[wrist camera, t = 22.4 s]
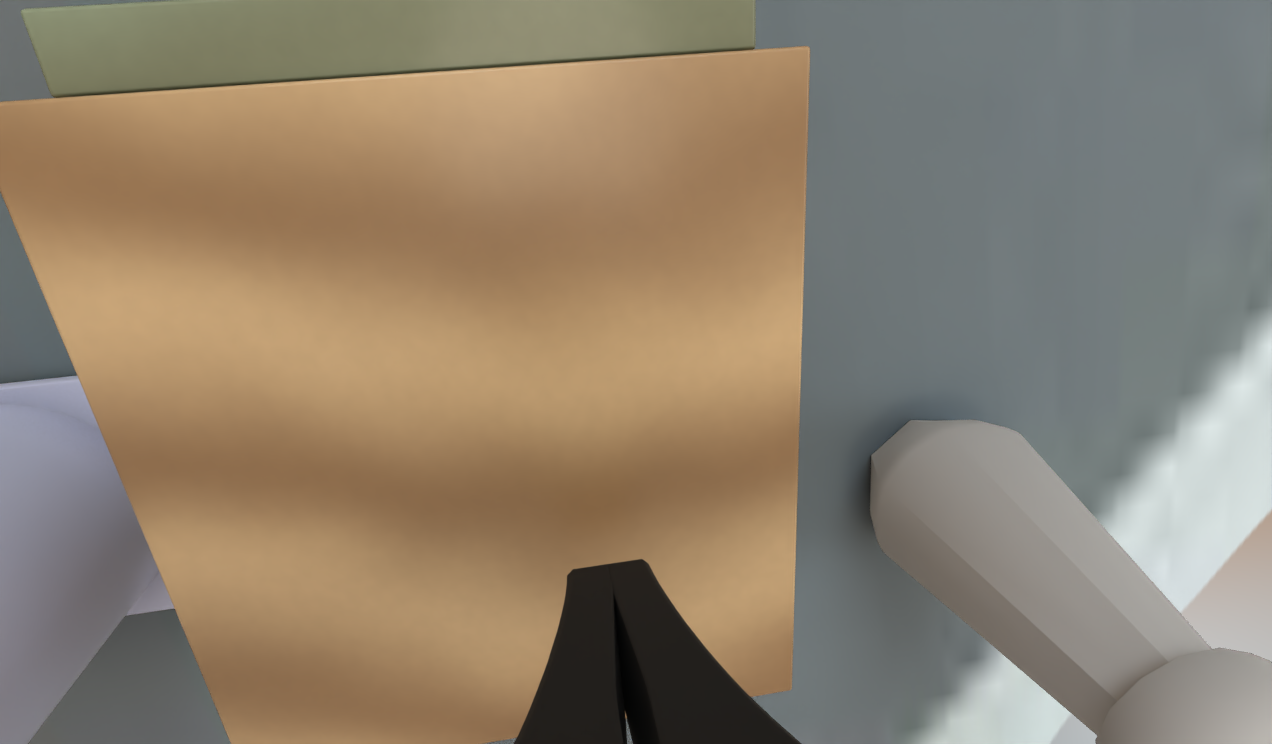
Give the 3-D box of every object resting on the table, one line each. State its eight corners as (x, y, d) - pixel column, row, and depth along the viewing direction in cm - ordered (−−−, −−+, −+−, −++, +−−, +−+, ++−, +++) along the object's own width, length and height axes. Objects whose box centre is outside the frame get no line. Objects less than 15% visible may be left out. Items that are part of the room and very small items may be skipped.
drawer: (140, -231, 14) (-165, -484, 8) (663, -243, 15) (757, -471, 9) (340, 494, 21) (260, 667, 15) (691, 448, 22) (756, 589, 16)
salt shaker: (865, 390, 23) (1220, 706, 11) (1015, 395, 24) (1487, 691, 12) (829, 535, 25) (1097, 929, 14) (970, 534, 26) (1334, 901, 14)
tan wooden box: (219, 96, 17) (-39, 104, 9) (691, 63, 19) (811, 45, 11) (344, 542, 23) (247, 786, 15) (704, 492, 24) (792, 691, 16)
